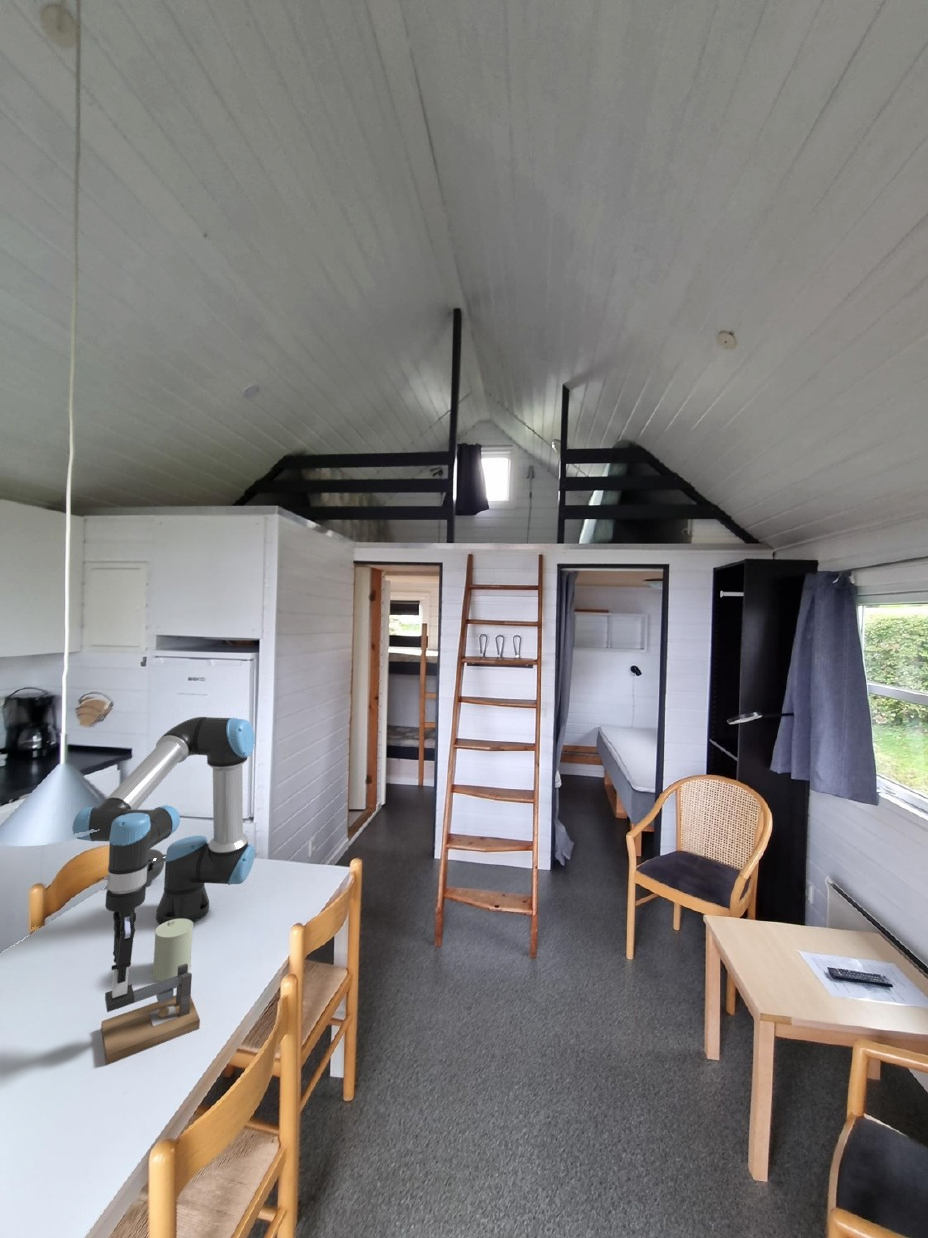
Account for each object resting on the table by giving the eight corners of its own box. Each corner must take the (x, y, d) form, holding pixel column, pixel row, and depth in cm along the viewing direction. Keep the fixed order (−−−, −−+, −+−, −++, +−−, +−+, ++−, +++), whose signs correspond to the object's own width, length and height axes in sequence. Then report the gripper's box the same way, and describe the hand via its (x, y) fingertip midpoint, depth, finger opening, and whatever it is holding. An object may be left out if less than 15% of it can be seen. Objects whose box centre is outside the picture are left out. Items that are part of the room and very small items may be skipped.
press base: (101, 1030, 121) (104, 981, 121) (188, 999, 132) (190, 954, 132) (106, 1065, 111) (109, 1012, 112) (199, 1028, 123) (202, 980, 123)
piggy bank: (124, 877, 192) (126, 845, 193) (170, 874, 196) (172, 843, 196) (112, 892, 181) (114, 858, 182) (160, 889, 185) (162, 855, 185)
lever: (104, 1013, 118) (105, 993, 118) (187, 983, 129) (187, 965, 129) (106, 1026, 114) (107, 1006, 114) (191, 994, 125) (192, 976, 125)
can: (184, 956, 149) (187, 913, 149) (195, 972, 142) (198, 927, 142) (147, 969, 142) (150, 924, 143) (157, 987, 136) (160, 939, 136)
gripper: (103, 879, 121) (96, 984, 120) (109, 903, 111) (101, 1018, 110) (141, 871, 126) (135, 972, 125) (150, 894, 116) (143, 1004, 115)
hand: (119, 994), depth 118 cm, fingers closed
